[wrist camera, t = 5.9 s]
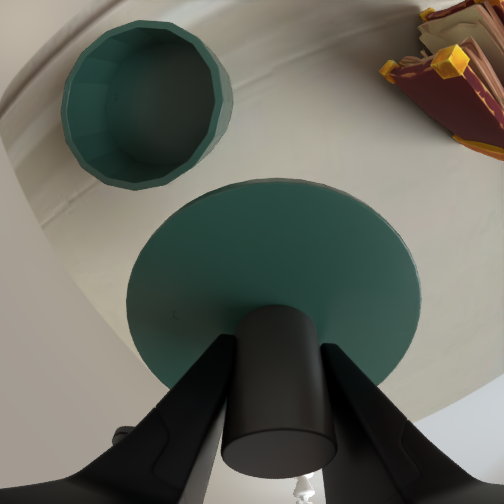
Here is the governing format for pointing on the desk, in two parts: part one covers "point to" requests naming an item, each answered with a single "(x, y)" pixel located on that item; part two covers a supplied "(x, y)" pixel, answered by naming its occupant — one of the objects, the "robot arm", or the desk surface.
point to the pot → (145, 104)
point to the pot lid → (275, 309)
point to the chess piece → (304, 489)
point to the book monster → (460, 73)
